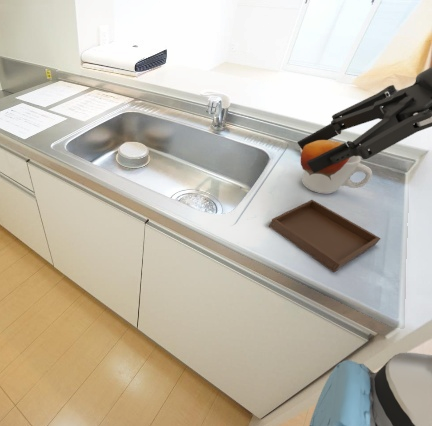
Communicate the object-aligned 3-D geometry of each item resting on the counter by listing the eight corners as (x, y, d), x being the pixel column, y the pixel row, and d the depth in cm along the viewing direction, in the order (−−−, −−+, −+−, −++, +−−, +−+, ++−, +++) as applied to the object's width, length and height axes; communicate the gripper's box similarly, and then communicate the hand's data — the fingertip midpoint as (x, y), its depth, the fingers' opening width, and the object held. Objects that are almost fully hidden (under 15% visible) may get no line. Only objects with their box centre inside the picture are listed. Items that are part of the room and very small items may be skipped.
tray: (374, 246, 60) (381, 238, 58) (333, 272, 55) (339, 264, 54) (307, 206, 70) (311, 199, 69) (268, 226, 65) (272, 218, 64)
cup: (359, 189, 75) (382, 155, 68) (353, 209, 69) (378, 173, 62) (302, 172, 82) (318, 139, 75) (292, 188, 76) (308, 154, 69)
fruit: (303, 177, 56) (314, 135, 54) (290, 176, 63) (299, 139, 61) (351, 183, 54) (363, 140, 52) (331, 181, 61) (342, 143, 59)
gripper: (518, 121, 38) (328, 198, 52) (432, 77, 53) (302, 146, 67) (504, 77, 36) (308, 170, 50) (418, 44, 51) (286, 123, 65)
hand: (305, 156), depth 58 cm, fingers closed on fruit, 8 cm apart
